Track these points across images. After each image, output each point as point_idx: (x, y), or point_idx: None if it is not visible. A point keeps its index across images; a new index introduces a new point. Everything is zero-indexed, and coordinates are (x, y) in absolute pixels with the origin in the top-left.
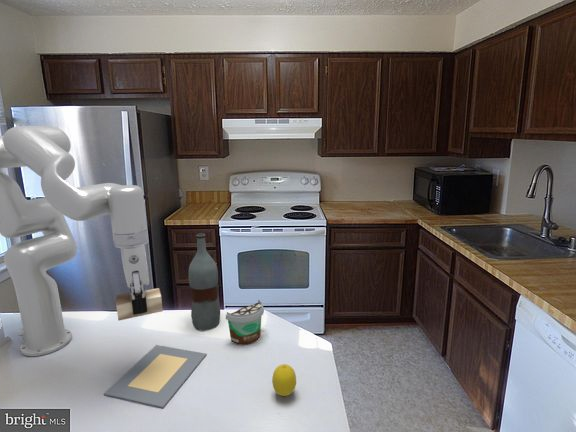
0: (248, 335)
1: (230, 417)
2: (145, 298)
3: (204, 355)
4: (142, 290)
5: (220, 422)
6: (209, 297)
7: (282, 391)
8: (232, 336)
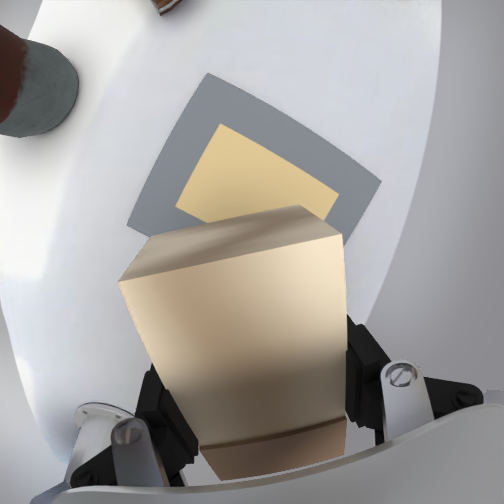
0: None
1: (421, 67)
2: (375, 354)
3: (215, 77)
4: (428, 413)
5: (427, 85)
6: (18, 46)
7: None
8: (167, 1)
